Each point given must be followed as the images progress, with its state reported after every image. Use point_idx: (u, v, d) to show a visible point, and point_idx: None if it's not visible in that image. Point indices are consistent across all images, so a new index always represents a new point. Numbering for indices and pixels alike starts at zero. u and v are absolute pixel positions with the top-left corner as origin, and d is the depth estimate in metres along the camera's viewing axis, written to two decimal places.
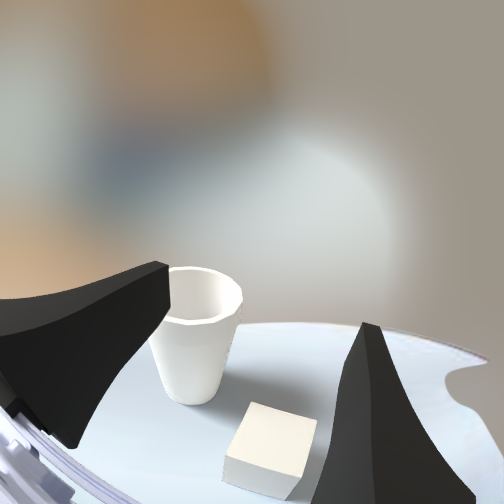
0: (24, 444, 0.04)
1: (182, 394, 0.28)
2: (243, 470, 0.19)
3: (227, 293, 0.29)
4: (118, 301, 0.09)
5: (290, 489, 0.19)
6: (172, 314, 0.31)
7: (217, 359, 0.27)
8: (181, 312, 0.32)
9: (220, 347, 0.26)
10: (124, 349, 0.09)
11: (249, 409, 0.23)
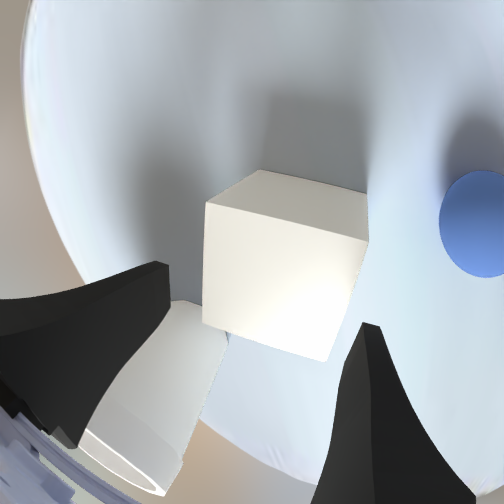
0: (24, 444, 0.04)
1: (218, 357, 0.21)
2: None
3: None
4: (118, 301, 0.09)
5: None
6: None
7: (155, 376, 0.16)
8: None
9: (139, 396, 0.14)
10: (124, 349, 0.09)
11: (219, 326, 0.14)
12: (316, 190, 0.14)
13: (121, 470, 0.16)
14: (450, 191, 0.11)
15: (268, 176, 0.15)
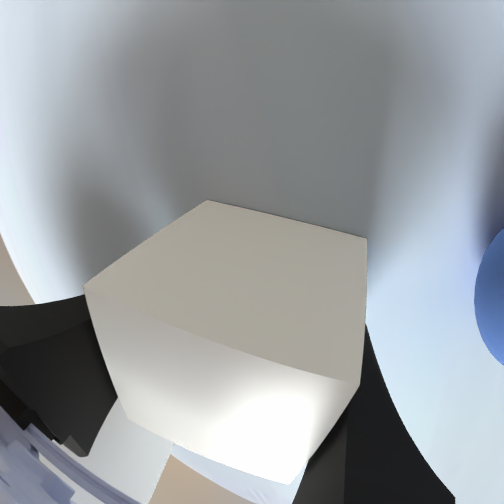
0: (24, 444, 0.04)
1: None
2: None
3: None
4: None
5: None
6: None
7: (94, 453, 0.10)
8: None
9: None
10: None
11: (148, 427, 0.09)
12: (285, 240, 0.09)
13: None
14: (500, 247, 0.06)
15: (214, 214, 0.10)
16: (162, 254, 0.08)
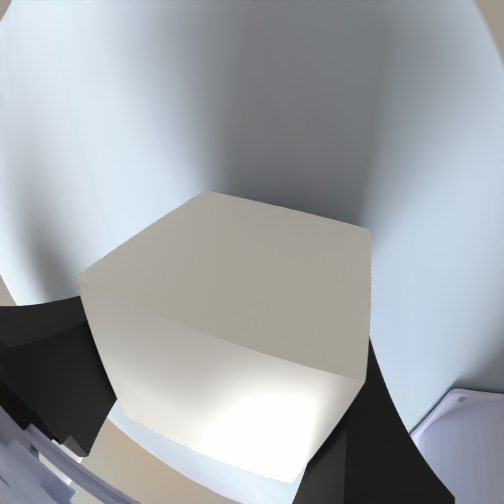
0: (24, 444, 0.04)
1: None
2: None
3: None
4: None
5: None
6: None
7: None
8: None
9: None
10: None
11: (146, 424, 0.08)
12: (285, 230, 0.09)
13: None
14: None
15: (213, 204, 0.10)
16: (158, 245, 0.07)
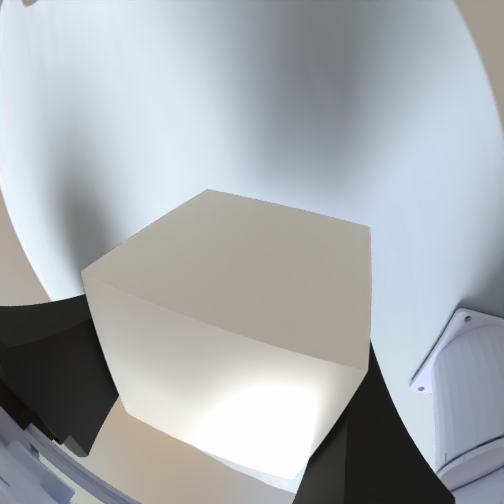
0: (24, 444, 0.04)
1: None
2: None
3: None
4: None
5: None
6: None
7: None
8: None
9: None
10: None
11: (147, 421, 0.09)
12: (287, 227, 0.09)
13: None
14: None
15: (215, 202, 0.10)
16: (162, 241, 0.07)
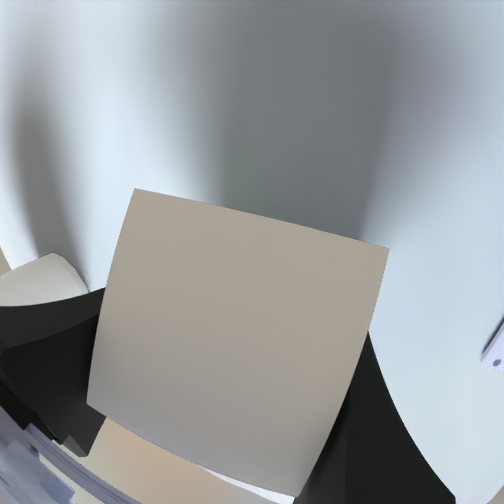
0: (24, 444, 0.04)
1: None
2: None
3: None
4: None
5: None
6: None
7: None
8: None
9: None
10: None
11: (111, 414, 0.06)
12: None
13: None
14: None
15: None
16: None
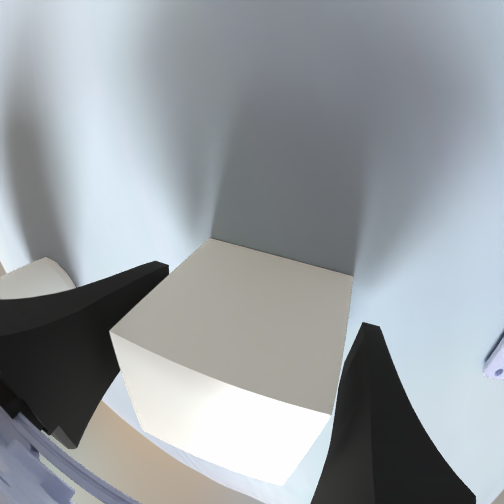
0: (24, 444, 0.04)
1: None
2: None
3: None
4: (118, 301, 0.09)
5: None
6: None
7: None
8: None
9: None
10: None
11: (161, 438, 0.10)
12: (279, 282, 0.10)
13: None
14: None
15: (217, 254, 0.11)
16: (174, 299, 0.09)
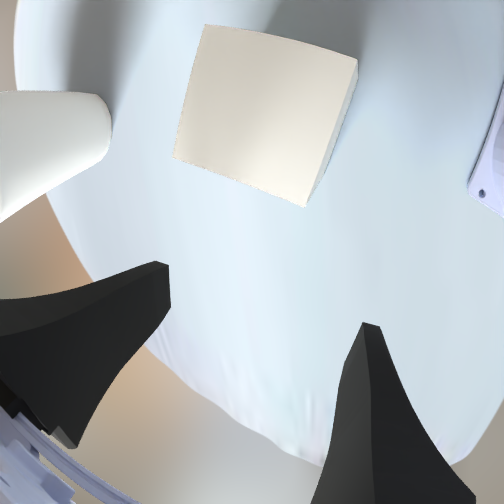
0: (24, 444, 0.04)
1: (93, 131, 0.18)
2: (324, 160, 0.12)
3: None
4: (118, 301, 0.09)
5: (356, 74, 0.11)
6: None
7: (23, 97, 0.12)
8: None
9: (0, 99, 0.11)
10: (124, 349, 0.09)
11: (190, 160, 0.12)
12: None
13: None
14: None
15: None
16: None
